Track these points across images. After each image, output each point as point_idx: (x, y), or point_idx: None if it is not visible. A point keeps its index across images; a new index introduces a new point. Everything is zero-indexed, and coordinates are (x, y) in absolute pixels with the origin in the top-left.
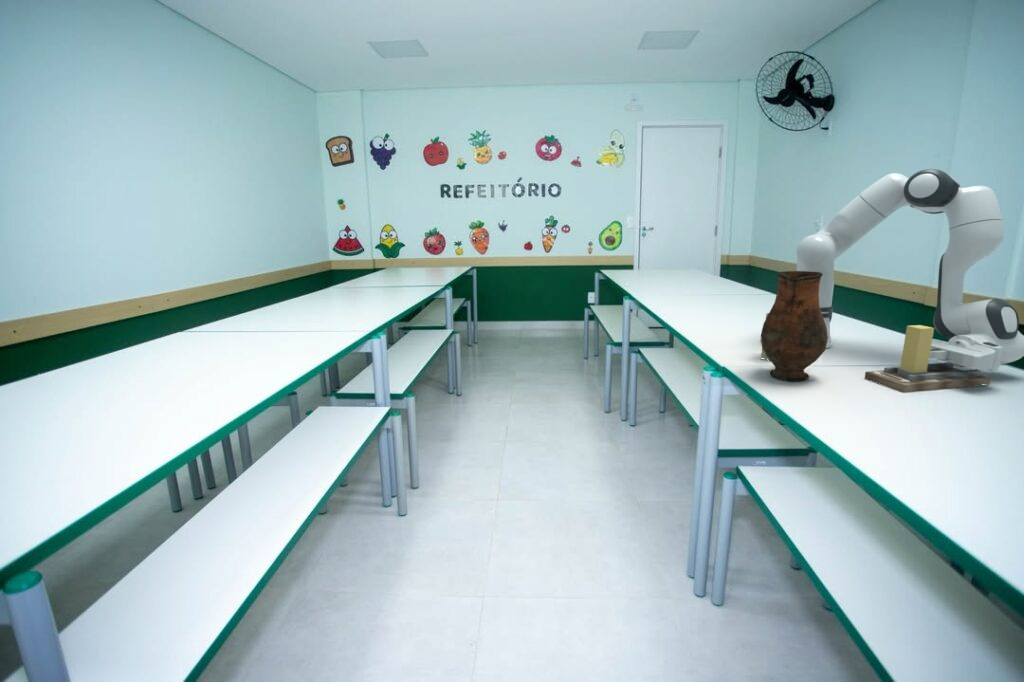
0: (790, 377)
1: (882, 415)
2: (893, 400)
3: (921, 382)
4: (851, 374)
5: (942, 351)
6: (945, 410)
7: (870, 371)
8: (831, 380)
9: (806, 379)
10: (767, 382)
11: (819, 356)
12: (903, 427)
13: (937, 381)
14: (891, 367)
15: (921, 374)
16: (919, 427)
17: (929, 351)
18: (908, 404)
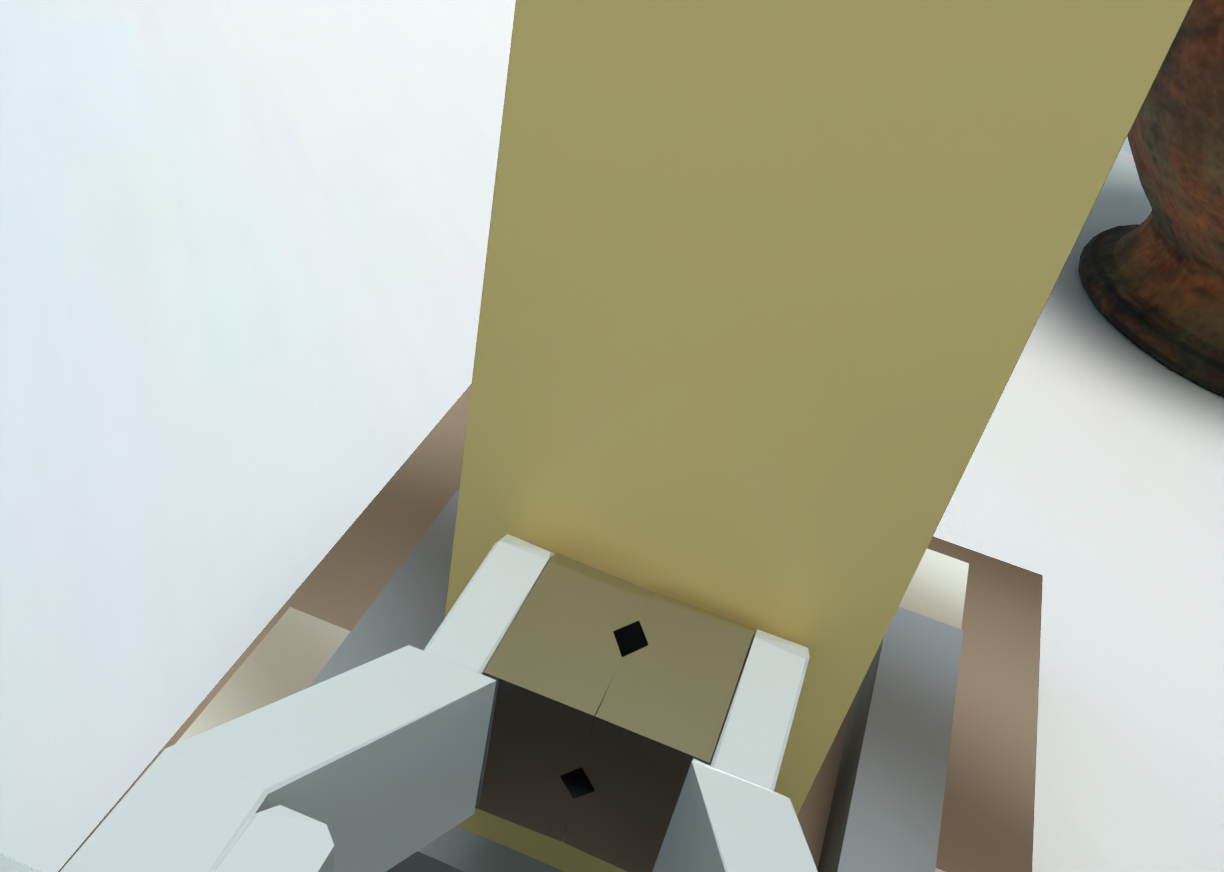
0: (1125, 234)
1: (381, 72)
2: (440, 256)
3: (372, 562)
4: (1201, 704)
5: (200, 799)
6: (49, 250)
7: (1030, 619)
8: (1042, 405)
9: (1104, 312)
10: (1114, 191)
11: (1176, 113)
12: (244, 13)
13: (189, 727)
14: (918, 694)
15: (430, 603)
16: (175, 30)
17: (473, 448)
18: (323, 237)
